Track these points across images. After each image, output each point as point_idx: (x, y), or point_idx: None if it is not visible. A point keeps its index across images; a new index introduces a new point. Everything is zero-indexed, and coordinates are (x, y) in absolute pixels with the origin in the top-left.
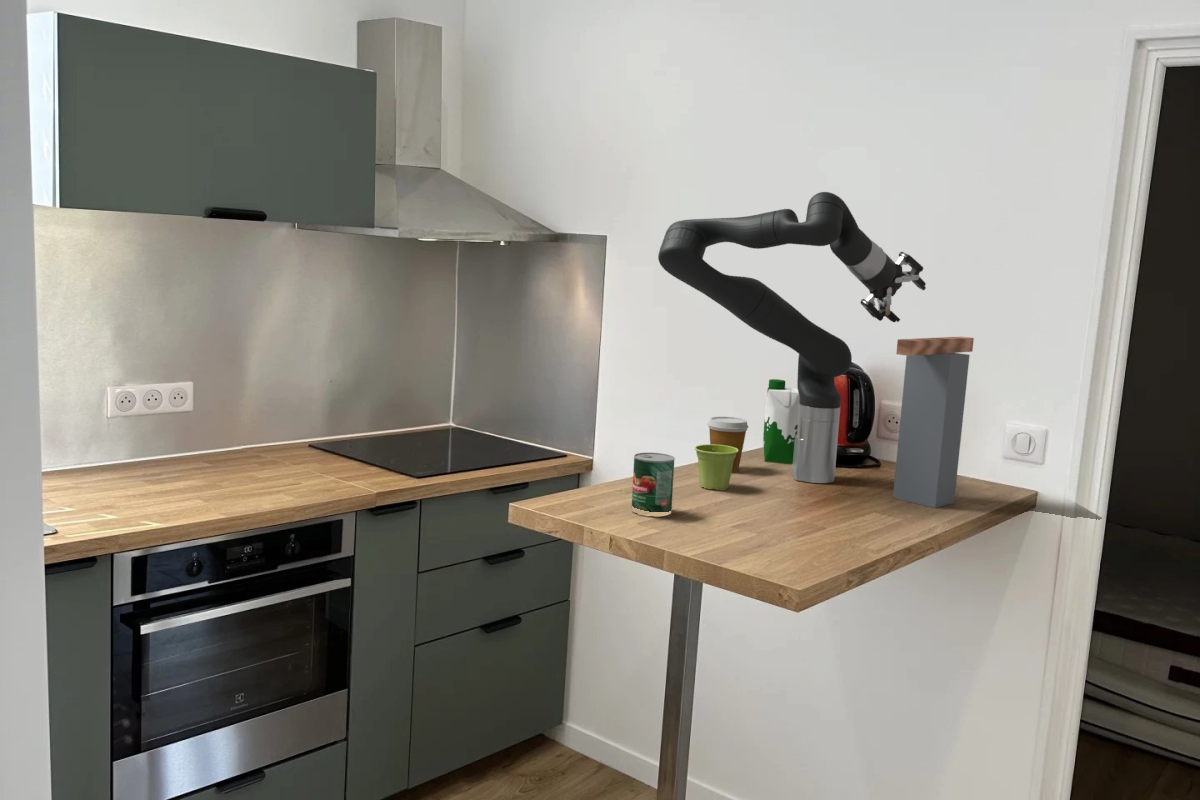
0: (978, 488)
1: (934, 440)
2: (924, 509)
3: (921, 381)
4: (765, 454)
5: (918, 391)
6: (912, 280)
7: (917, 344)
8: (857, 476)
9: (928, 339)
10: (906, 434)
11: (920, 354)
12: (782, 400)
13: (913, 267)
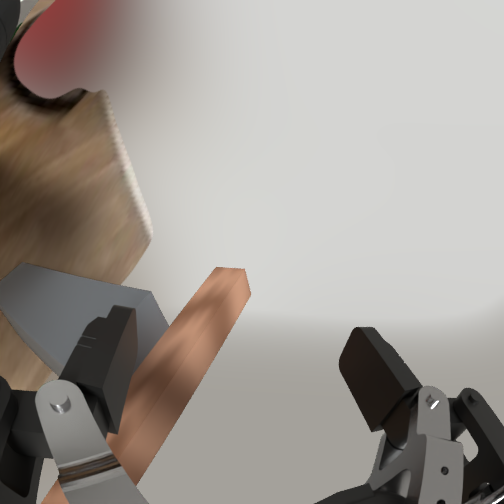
0: (108, 234)
1: (46, 363)
2: (9, 348)
3: None
4: None
5: (55, 366)
6: (375, 460)
7: None
8: (5, 155)
9: (144, 458)
10: (15, 324)
11: None
12: None
13: (457, 429)
